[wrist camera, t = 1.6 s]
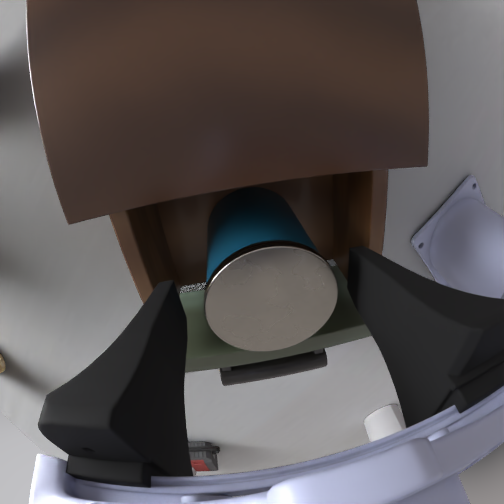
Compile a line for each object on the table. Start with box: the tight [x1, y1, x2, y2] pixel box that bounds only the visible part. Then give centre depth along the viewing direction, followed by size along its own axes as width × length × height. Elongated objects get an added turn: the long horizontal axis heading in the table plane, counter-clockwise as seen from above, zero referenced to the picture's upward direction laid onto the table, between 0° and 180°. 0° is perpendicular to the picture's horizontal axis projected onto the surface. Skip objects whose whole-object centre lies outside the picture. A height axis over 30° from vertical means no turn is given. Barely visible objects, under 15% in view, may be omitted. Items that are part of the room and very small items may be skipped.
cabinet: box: [26, 0, 429, 225], centre depth 9 cm, size 14×14×8 cm
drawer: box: [109, 169, 388, 386], centre depth 15 cm, size 17×12×6 cm
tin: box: [204, 187, 338, 351], centre depth 13 cm, size 5×5×6 cm
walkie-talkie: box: [188, 442, 220, 475], centre depth 32 cm, size 9×4×20 cm
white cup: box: [364, 404, 406, 442], centre depth 32 cm, size 7×7×10 cm
